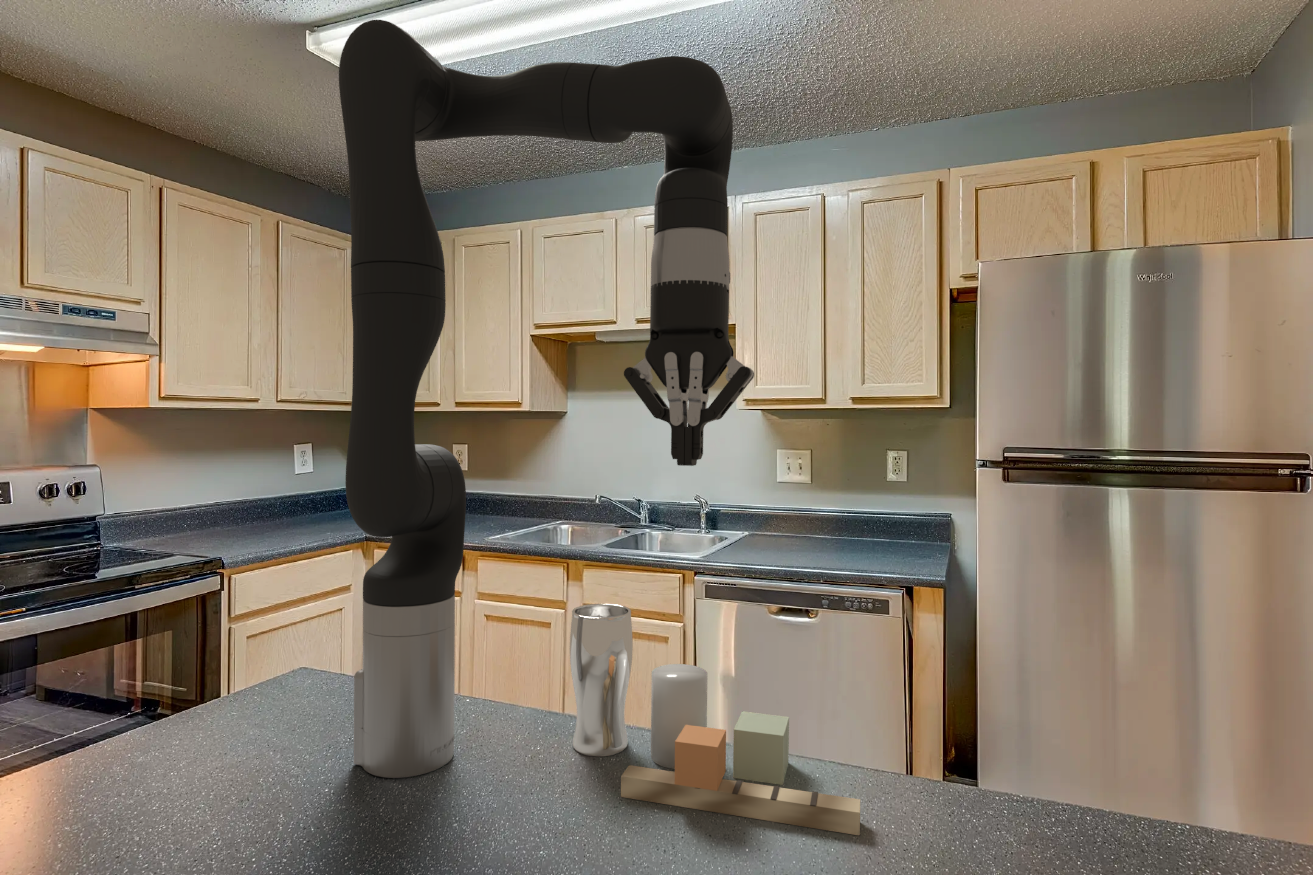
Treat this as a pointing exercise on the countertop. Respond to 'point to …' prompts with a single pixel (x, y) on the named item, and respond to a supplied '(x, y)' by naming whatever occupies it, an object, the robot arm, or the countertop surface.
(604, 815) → the countertop surface
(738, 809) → the rail
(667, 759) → the grey rounded cylinder
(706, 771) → the block
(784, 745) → the sage block
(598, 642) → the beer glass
